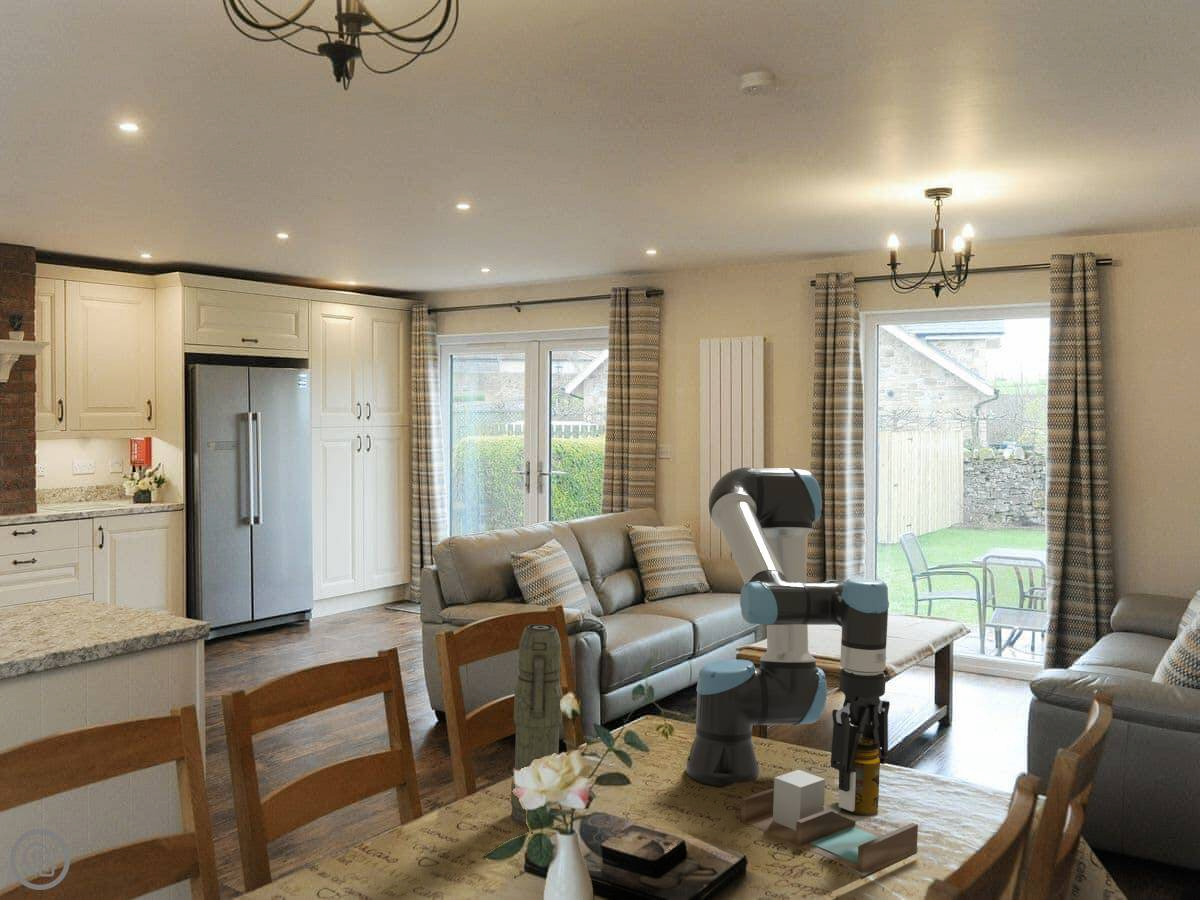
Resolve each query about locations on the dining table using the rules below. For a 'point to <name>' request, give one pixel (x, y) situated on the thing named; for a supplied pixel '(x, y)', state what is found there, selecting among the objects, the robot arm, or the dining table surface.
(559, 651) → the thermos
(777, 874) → the dining table surface
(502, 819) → the dining table surface
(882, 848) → the rack
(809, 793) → the block
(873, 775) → the condiment
